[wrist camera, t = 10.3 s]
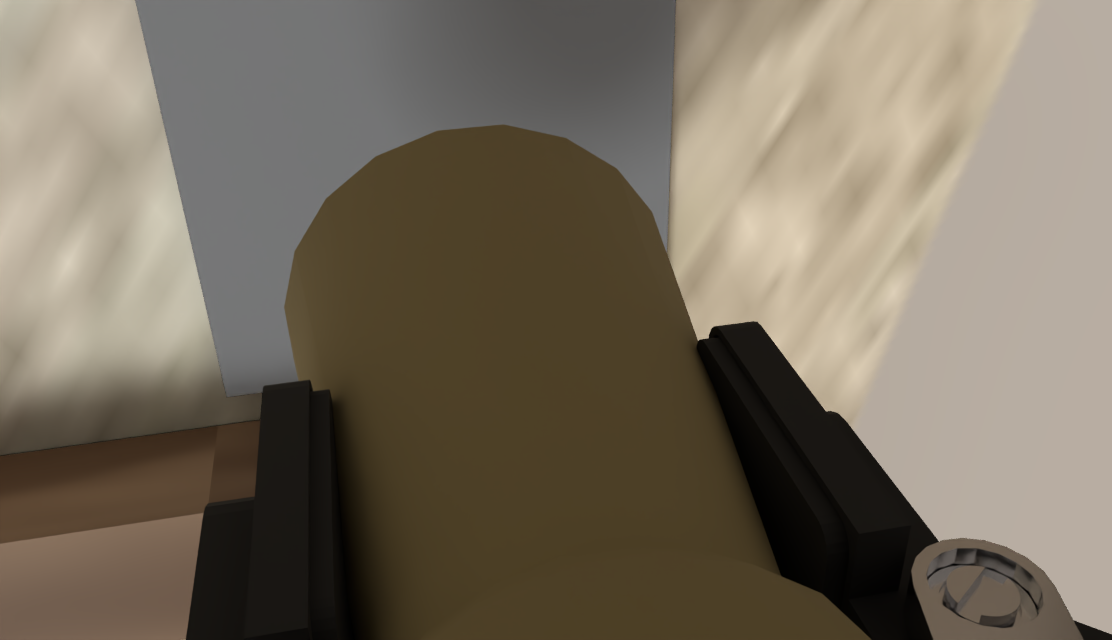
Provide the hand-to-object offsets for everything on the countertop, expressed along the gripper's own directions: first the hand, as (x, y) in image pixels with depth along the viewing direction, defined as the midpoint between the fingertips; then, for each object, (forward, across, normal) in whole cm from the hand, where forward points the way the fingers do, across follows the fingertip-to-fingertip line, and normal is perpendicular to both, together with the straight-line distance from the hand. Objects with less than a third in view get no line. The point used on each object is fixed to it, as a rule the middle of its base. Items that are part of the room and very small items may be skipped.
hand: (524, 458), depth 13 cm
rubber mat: (+10, 0, 0) cm, 10 cm away
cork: (+4, 0, 0) cm, 4 cm away
